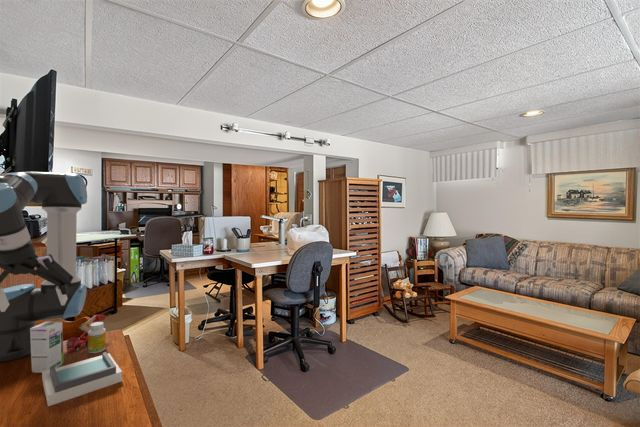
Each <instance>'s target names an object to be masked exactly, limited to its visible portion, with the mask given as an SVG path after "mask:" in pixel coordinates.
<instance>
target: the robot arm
mask: <svg viewBox="0 0 640 427" xmlns="http://www.w3.org/2000/svg"><path fill="white" fill-rule="evenodd" d="M87 203H88V191H87V186H86V184H85V180H84V178H83V177H82V176H81V175H80V174H78V173H72V172H71V173H69V172H55V171H51V172H49V171H19V172H18V171H17V172H8V173H7V172H6V173H4V172H3V173H0V269H1V270H3V271H2V273H0V284H1V283H3V281H4V280H5V279H6V278H7V277H8V275H10V274H11V275H13V276H17V275H28V274H31V275H32V276H38V277H40V279H41V278H42V279H44V280H43V281H42V282H40V287H36V286H35V284H33V283H24V284H19V285H14V286H9V287H4V288H3V287H2V286H0V363H3V362H8V361H13V360H18V359H21V358H24V357H27V356H31V338H30V328H32V327H35V326H36V322H38V321H39V322H40V321H50V320H56V319H57V320H58V319H66V318H72V317H73V318H74V317H77V316H79V315H80V314H81V312H82V311H83V309H84V306H85V303H86V298H87V292H88V291H87V285H86V284H84V283H82V279H81V278H80V277H78V276H77V222H78V220H77V217H78V216H77V213H78V212H80V211H81V210H82V205H85V204H87ZM28 204H41V209H42V210H43V211H45V212H46V255H44V256H38V255H37V254H36V249H35V246H34V243H33V241H32V239H31V235H30V232H29V230H28V228H27V224H26V222H25V219H24V215H23V211H24V209H25V207H27V205H28ZM35 268H36V269H35Z"/></svg>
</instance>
